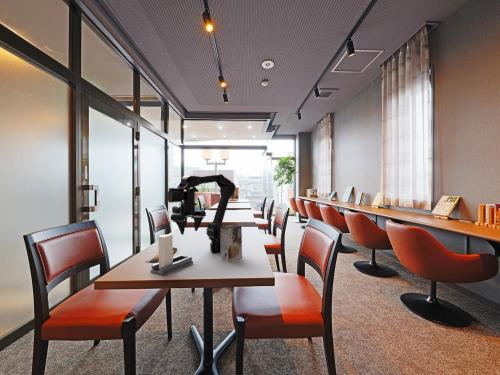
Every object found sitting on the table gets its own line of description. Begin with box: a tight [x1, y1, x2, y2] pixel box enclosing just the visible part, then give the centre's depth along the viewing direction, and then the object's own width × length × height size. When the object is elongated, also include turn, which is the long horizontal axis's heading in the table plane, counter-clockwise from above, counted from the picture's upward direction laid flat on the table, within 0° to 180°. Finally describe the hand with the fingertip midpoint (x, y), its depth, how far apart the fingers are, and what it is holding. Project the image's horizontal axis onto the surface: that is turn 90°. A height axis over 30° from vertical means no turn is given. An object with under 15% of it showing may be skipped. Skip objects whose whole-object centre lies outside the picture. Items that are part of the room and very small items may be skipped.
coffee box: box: [220, 224, 243, 263], centre depth 117 cm, size 9×6×16 cm
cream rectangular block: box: [157, 234, 174, 269], centre depth 101 cm, size 4×4×14 cm
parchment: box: [145, 247, 178, 263], centre depth 124 cm, size 25×10×1 cm, turn 0°
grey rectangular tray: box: [150, 254, 194, 277], centre depth 105 cm, size 16×8×3 cm, turn 149°
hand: (189, 232), depth 116 cm, fingers open, 9 cm apart
